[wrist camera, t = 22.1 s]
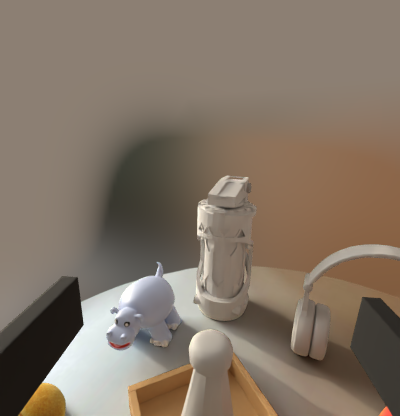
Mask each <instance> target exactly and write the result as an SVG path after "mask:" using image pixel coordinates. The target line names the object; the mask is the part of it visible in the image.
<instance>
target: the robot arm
mask: <svg viewBox="0 0 400 416" xmlns="http://www.w3.org/2000/svg"><path fill="white" fill-rule="evenodd" d="M83 325H84V324H83V316H82V308H81V300H80V292H79V284H78V278H77V277H66V276H62V277H61V278H60V279H59V280H58V281H56V282H55V283H54V284H53V285H52V286H51V287H50V288H49V289H47V290H46V291H45V292H44V293H43V294H42V295H41V296H40V297H39V298H37V299H36V300H35V301H34V302H33V303H32V304H31V305H30V306H28V307H27V308H26V309H25V310H24V311H23V312H22V313H21V314H19V315H18V316H17V317H16V318H15V319H14V320H13V321H12V322H11V323H9V324H8V326H6V327H5V328H4V329H3V330H2V331H0V416H18V415H19V414H20V412H21V411H22V410H23V408H24V407H25V406H26V404H27V403H28V401H29V400H30V399H31V397H32V396H33V394H34V393H35V392H36V390H37V389H38V387H39V386H40V385H41V383H42V382H43V381H44V379H45V378H46V376H47V375H48V374H49V372H50V371H51V369H52V368H53V367H54V365H55V364H56V362H57V361H58V360H59V358H60V357H61V356H62V354H63V353H64V351H65V350H66V349H67V347H68V346H69V344H70V343H71V342H72V340H73V339H74V338H75V336H76V335H77V333H78V332H79V331H80V329H81V328H82V326H83ZM350 347H351V349H352V351H353V352H354V354H355V356H356V357H357V359H358V360H359V362H360V364H361V365H362V367H363V369H364V370H365V372H366V374H367V375H368V377H369V378H370V380H371V382H372V383H373V385H374V387H375V388H376V390H377V391H378V393H379V395H380V396H381V398H382V400H383V401H384V403H385V404H386V406H387V408H388V409H389V411H390V413H391V414H392V416H400V318H399V317H398V316H397V315H396V314H395V313H394V312H393V311H392V310H391V309H390V308H389V307H388V306H387V305H386V304H385V303H384V302H383V300H382V299H381V298H368V297H362V301H361V305H360V309H359V313H358V317H357V321H356V325H355V329H354V334H353V338H352V342H351V346H350Z"/></svg>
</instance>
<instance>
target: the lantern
mask: <svg viewBox="0 0 400 416" xmlns="http://www.w3.org/2000/svg"><path fill="white" fill-rule="evenodd" d="M229 177H230V176H225V177H224V178H222V179H220V180H219V181H218V183H217V184H216V185H215V186H214V188H213V189H212V190H211V191H210V192H209V194H208V199H207V200H206V201H205V200H202V201H201V202H199V205H198V230H197V240H199V241H201V257H200V259H201V261H200V263H199V266H198V270H197V278H196V295H195V297H194V303H195V304H198V307H199V309H200V311H201V312H202V313H203V314H204V315H205V316H207V317H209V318H211V319H214V320H219V321H230V320H234V319H237V318H239V317H240V316H242V314H243V313H244V311H245V309H246V307H247V303H248V298H249V296H248V289H249V286H250V276H251V265H252V252H253V240H251V229H252V217H254V216H255V215H256V206H255V205H254V206H253V204H252V203H250V202H249V201H247V200H248V193H250V192H251V183H249V182H248V177H240V178H244V179H243V180H236V179H228V178H229ZM233 177H235V176H233ZM200 236H201V238H200ZM246 246H247V249H249V256H248V254H247V252H246ZM245 266H246V271H247V278H246V282H245V284H244V282H243V281H244V269H245ZM202 271H203V279H202V280H201V282H200V277H201V274H202Z"/></svg>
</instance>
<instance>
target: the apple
mask: <svg viewBox="0 0 400 416" xmlns="http://www.w3.org/2000/svg"><path fill="white" fill-rule="evenodd" d="M379 416H392V414H391V413H390V411H389V409H388V408H387V406H386V407H385V408H384V409H383V411H382V412H381V413H380V415H379Z"/></svg>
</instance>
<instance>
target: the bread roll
mask: <svg viewBox="0 0 400 416" xmlns="http://www.w3.org/2000/svg"><path fill="white" fill-rule="evenodd" d="M65 410H66V403H65V398H64V396H63V394H62V392H61V391H60V390H59V389H58V388H57V387H56V386H54V385H52V384H49V383H41V385H40V386H39V387H38V389H37V390H36V392H35V393H34V394H33V396H32V397H31V399H30V400H29V401H28V403H27V404H26V406H25V407H24V408H23V410H22V411H21V412H20V414H19V415H18V416H65Z"/></svg>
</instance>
